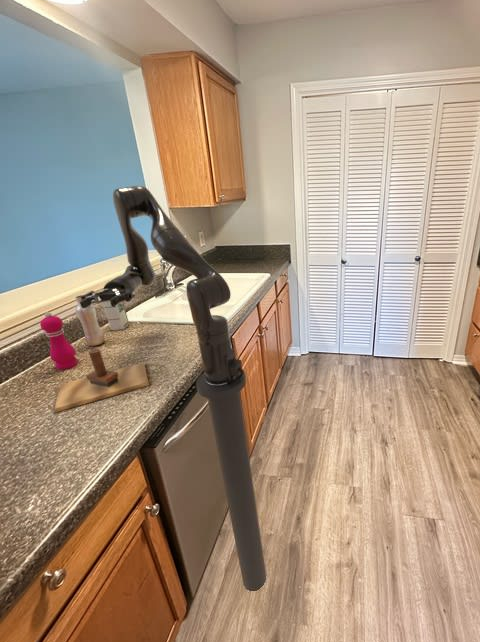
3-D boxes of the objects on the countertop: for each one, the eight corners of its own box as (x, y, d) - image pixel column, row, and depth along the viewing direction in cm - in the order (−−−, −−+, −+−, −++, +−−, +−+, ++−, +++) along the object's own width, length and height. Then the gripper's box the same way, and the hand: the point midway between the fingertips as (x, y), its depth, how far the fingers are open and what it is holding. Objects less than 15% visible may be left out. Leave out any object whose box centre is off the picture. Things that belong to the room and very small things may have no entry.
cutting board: (144, 365, 111) (144, 362, 111) (149, 385, 100) (148, 381, 99) (61, 387, 101) (60, 384, 100) (55, 412, 89) (54, 408, 89)
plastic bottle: (87, 349, 124) (70, 300, 117) (87, 343, 130) (71, 296, 122) (106, 344, 127) (91, 296, 120) (105, 338, 133) (90, 292, 125)
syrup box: (124, 329, 141) (115, 298, 135) (110, 330, 141) (100, 299, 135) (129, 324, 146) (121, 293, 140) (116, 325, 146) (107, 294, 140)
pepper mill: (82, 358, 118) (64, 307, 110) (73, 369, 111) (53, 315, 103) (61, 361, 117) (41, 309, 109) (50, 371, 110) (28, 317, 102)
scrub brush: (119, 380, 101) (110, 349, 96) (108, 387, 97) (98, 355, 93) (100, 376, 103) (90, 346, 99) (89, 384, 100) (77, 352, 95)
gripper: (96, 278, 109) (68, 293, 94) (139, 276, 109) (118, 290, 94) (103, 299, 112) (76, 317, 97) (145, 297, 112) (125, 314, 97)
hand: (97, 304), depth 96 cm, fingers open, 8 cm apart
